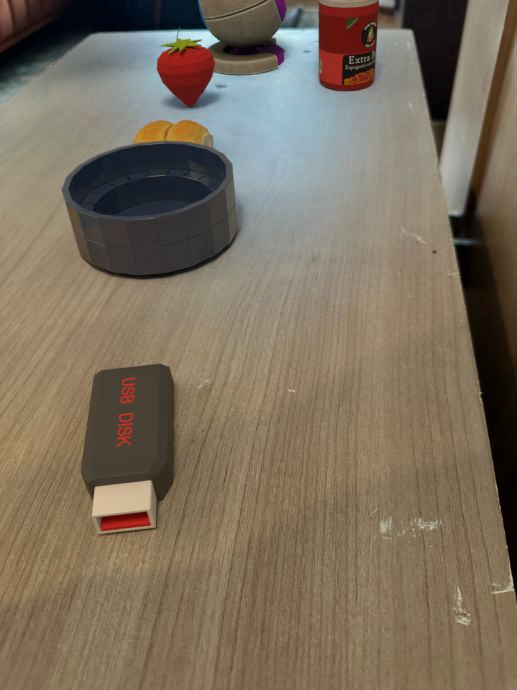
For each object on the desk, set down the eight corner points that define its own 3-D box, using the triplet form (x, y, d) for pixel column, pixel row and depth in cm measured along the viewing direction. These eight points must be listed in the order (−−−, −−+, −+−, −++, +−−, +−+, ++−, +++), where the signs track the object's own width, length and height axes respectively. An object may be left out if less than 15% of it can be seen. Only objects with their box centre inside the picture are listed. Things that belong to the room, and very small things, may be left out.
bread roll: (150, 140, 78) (144, 107, 76) (220, 144, 76) (216, 110, 74) (122, 171, 72) (115, 136, 70) (197, 175, 70) (193, 140, 68)
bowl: (93, 298, 54) (76, 236, 50) (68, 216, 65) (52, 160, 61) (261, 254, 58) (257, 193, 54) (210, 183, 69) (203, 129, 65)
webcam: (289, 72, 94) (285, -47, 84) (202, 77, 94) (188, -40, 85) (287, 45, 104) (283, -64, 94) (208, 50, 104) (196, -58, 94)
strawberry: (223, 110, 84) (215, 28, 78) (165, 119, 83) (153, 36, 77) (214, 95, 89) (206, 16, 82) (160, 103, 88) (147, 23, 81)
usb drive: (173, 382, 46) (167, 354, 44) (173, 527, 37) (165, 499, 35) (100, 390, 46) (91, 362, 44) (82, 538, 37) (70, 510, 35)
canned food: (348, 96, 85) (351, 5, 78) (306, 82, 90) (305, -5, 83) (386, 80, 89) (392, -9, 82) (344, 68, 94) (346, -17, 87)
